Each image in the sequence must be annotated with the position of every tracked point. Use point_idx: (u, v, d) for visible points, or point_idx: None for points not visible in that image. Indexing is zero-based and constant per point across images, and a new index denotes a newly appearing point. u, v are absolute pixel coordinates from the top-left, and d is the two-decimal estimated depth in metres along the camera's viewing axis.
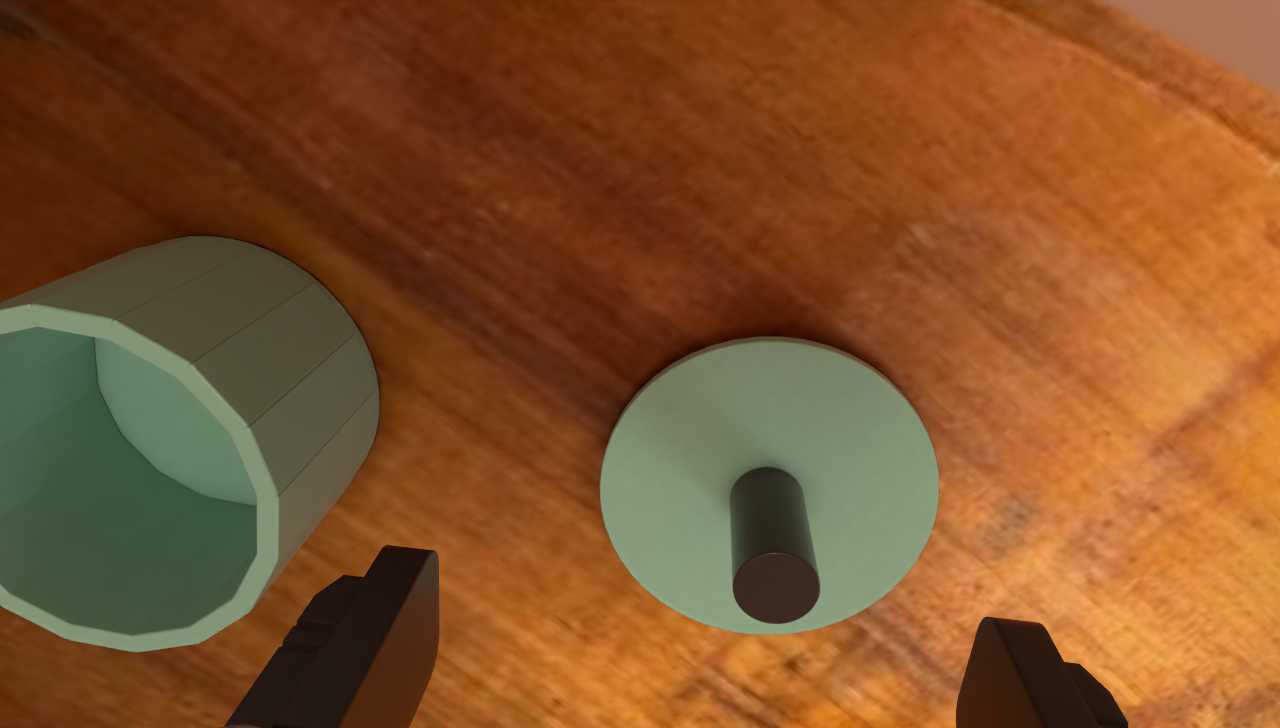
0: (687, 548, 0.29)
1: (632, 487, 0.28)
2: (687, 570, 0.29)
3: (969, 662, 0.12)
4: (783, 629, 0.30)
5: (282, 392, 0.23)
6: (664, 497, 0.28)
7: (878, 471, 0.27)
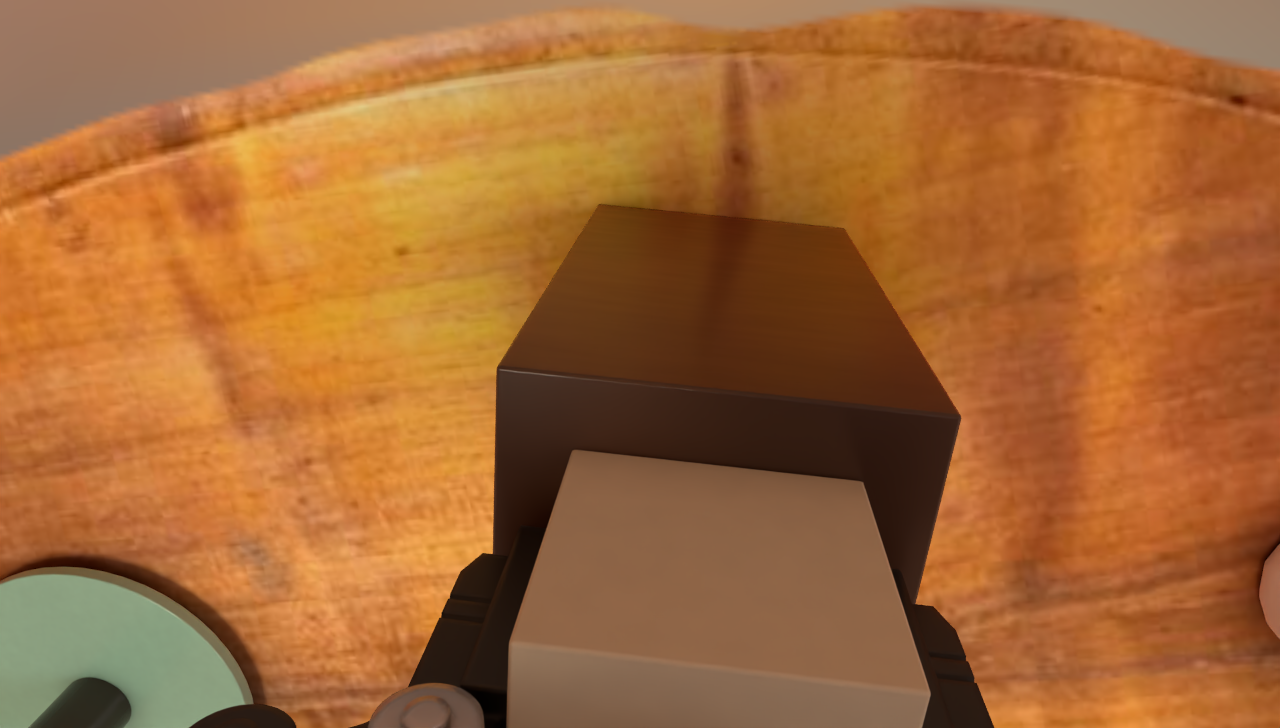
0: None
1: None
2: None
3: None
4: None
5: None
6: None
7: (113, 627, 0.29)
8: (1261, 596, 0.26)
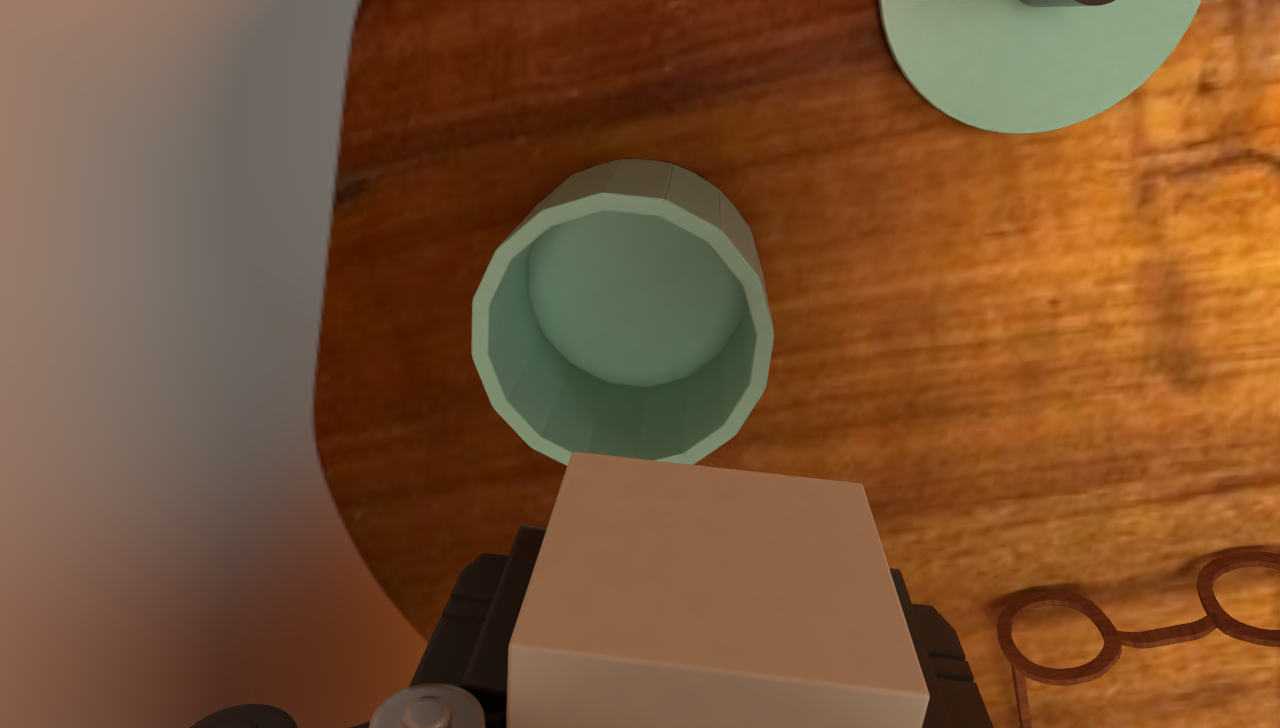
0: (1025, 69, 0.31)
1: (941, 67, 0.31)
2: (1042, 86, 0.31)
3: None
4: (1163, 53, 0.30)
5: (665, 187, 0.29)
6: (970, 49, 0.31)
7: None
8: None
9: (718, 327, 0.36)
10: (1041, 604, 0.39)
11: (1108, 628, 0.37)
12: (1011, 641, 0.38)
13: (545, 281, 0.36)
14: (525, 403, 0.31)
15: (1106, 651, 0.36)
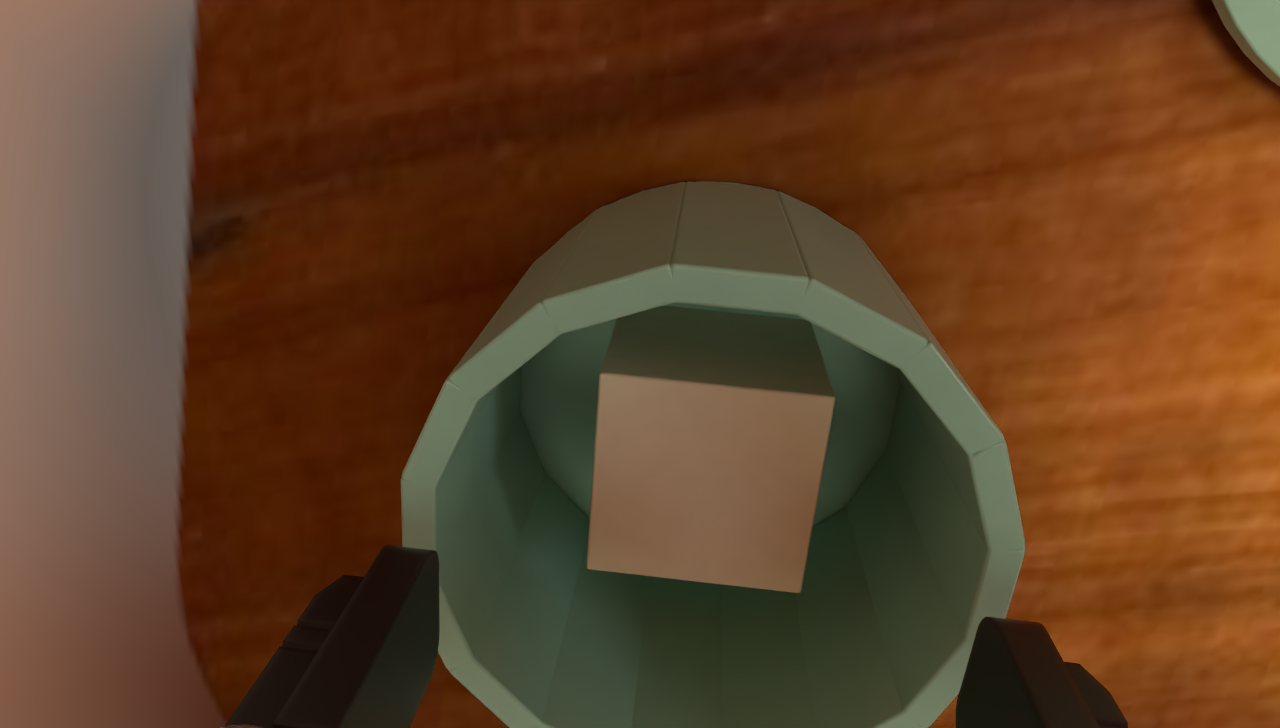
0: None
1: None
2: None
3: (969, 662, 0.12)
4: None
5: (793, 245, 0.14)
6: None
7: None
8: None
9: (843, 465, 0.21)
10: None
11: None
12: None
13: (549, 388, 0.21)
14: (512, 648, 0.17)
15: None
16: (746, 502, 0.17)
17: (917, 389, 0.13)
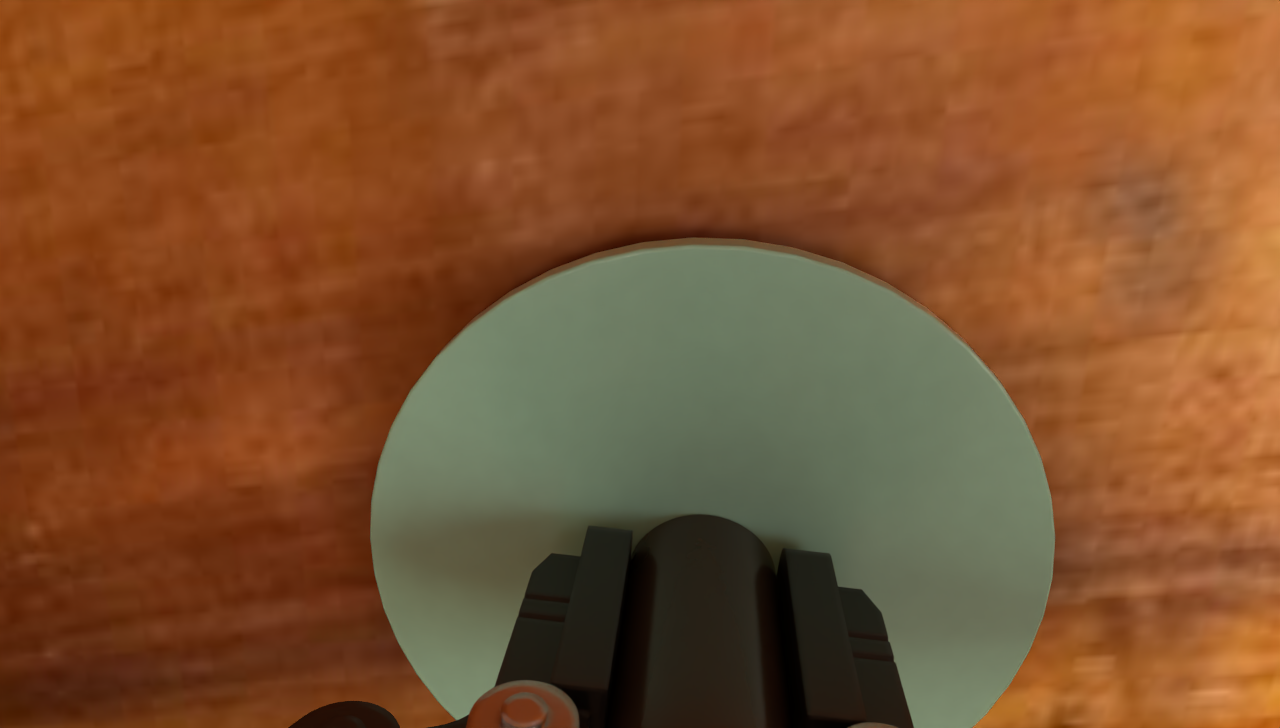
0: None
1: None
2: None
3: None
4: (964, 720, 0.15)
5: None
6: None
7: (799, 385, 0.13)
8: None
9: None
10: None
11: None
12: None
13: None
14: None
15: None
16: None
17: None
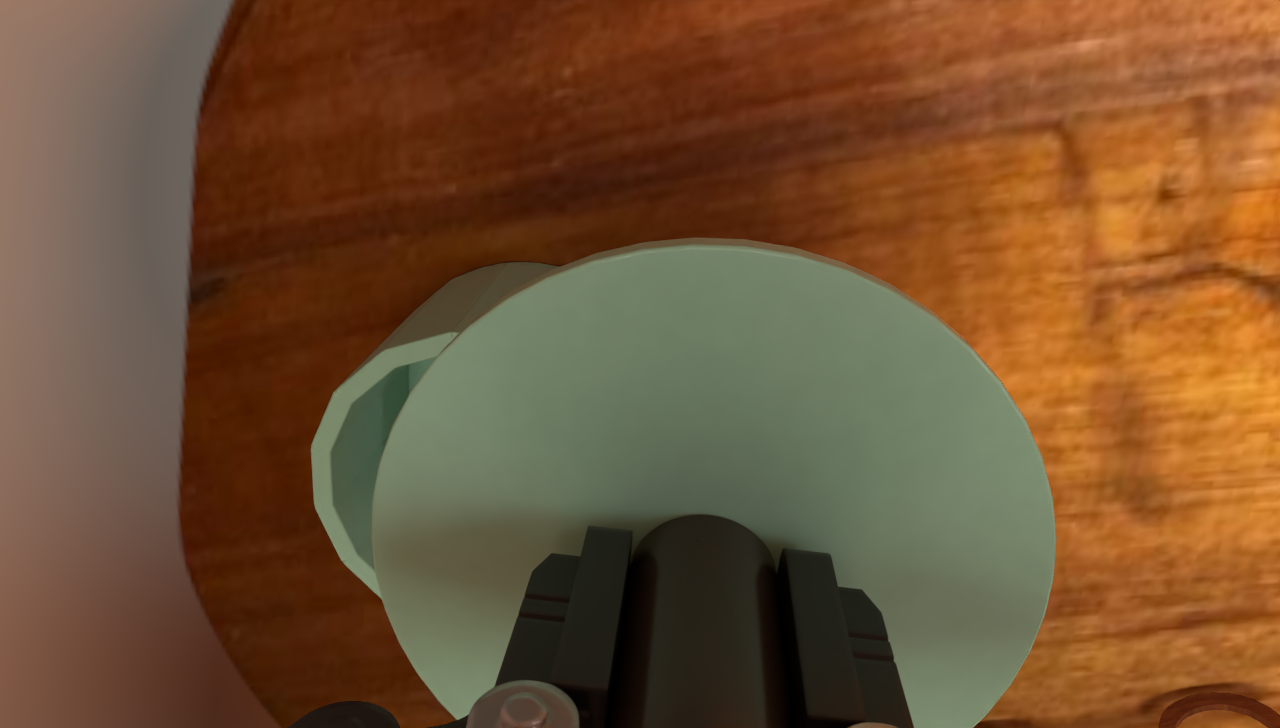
0: None
1: None
2: None
3: None
4: (965, 720, 0.15)
5: None
6: None
7: (800, 386, 0.13)
8: None
9: None
10: None
11: None
12: None
13: None
14: None
15: None
16: None
17: None
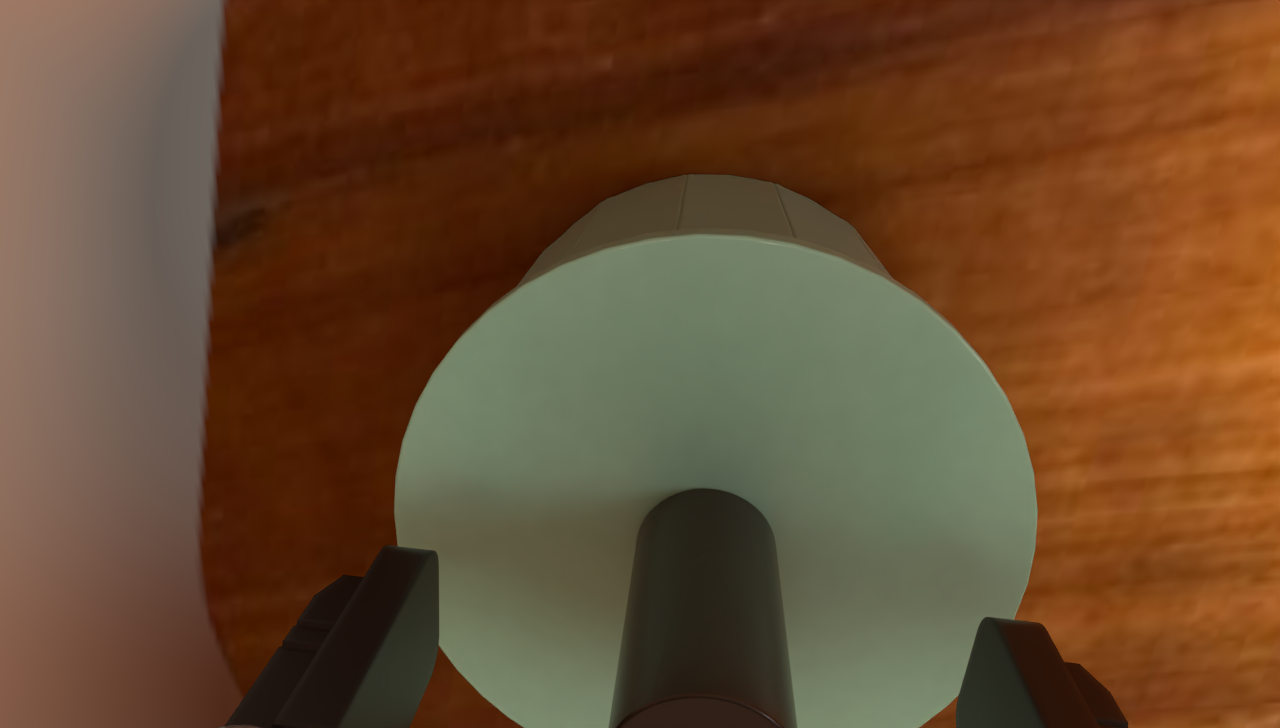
0: None
1: (540, 685, 0.16)
2: None
3: (969, 662, 0.12)
4: (953, 685, 0.16)
5: (788, 232, 0.15)
6: (589, 662, 0.16)
7: (797, 366, 0.13)
8: None
9: None
10: None
11: None
12: None
13: None
14: None
15: None
16: None
17: None
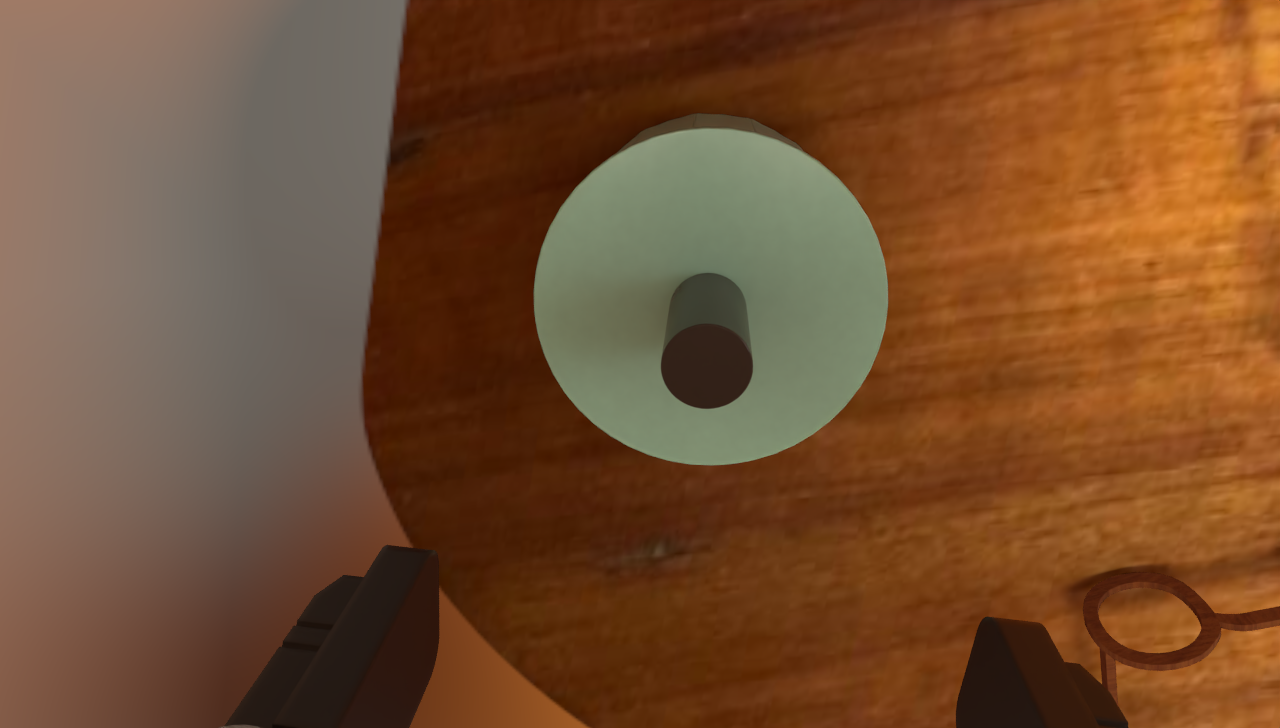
0: None
1: (612, 400, 0.28)
2: (723, 421, 0.28)
3: (969, 662, 0.12)
4: (847, 393, 0.27)
5: None
6: (641, 384, 0.28)
7: (756, 200, 0.25)
8: None
9: None
10: (1128, 586, 0.37)
11: (1204, 610, 0.35)
12: (1100, 625, 0.36)
13: None
14: None
15: (1205, 634, 0.34)
16: None
17: None
